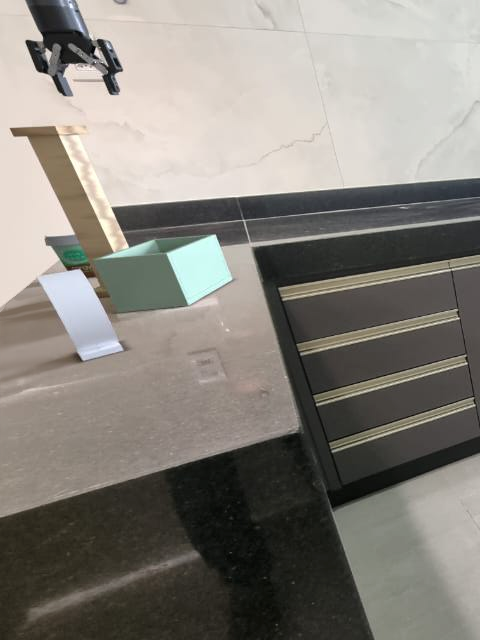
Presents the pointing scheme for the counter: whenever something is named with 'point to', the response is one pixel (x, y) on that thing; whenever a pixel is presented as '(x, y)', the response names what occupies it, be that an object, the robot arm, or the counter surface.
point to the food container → (70, 253)
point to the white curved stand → (81, 313)
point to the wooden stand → (77, 190)
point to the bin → (163, 272)
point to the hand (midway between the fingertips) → (91, 95)
